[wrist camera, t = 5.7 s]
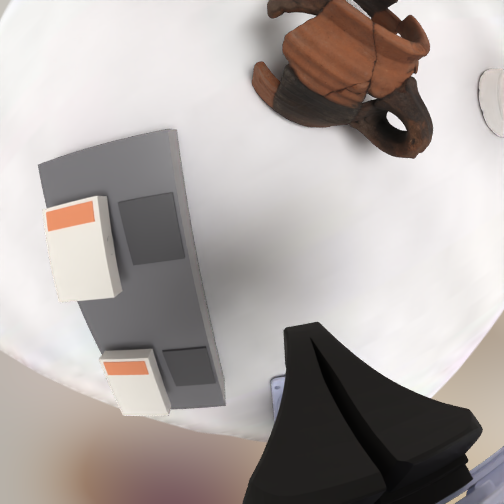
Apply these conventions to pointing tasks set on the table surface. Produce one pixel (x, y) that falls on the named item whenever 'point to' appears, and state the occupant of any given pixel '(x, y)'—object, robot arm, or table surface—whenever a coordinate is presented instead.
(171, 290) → the power strip
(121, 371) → the block
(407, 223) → the table surface
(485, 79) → the water bottle
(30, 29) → the table surface
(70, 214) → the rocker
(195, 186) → the table surface
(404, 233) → the table surface
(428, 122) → the pottery mug
